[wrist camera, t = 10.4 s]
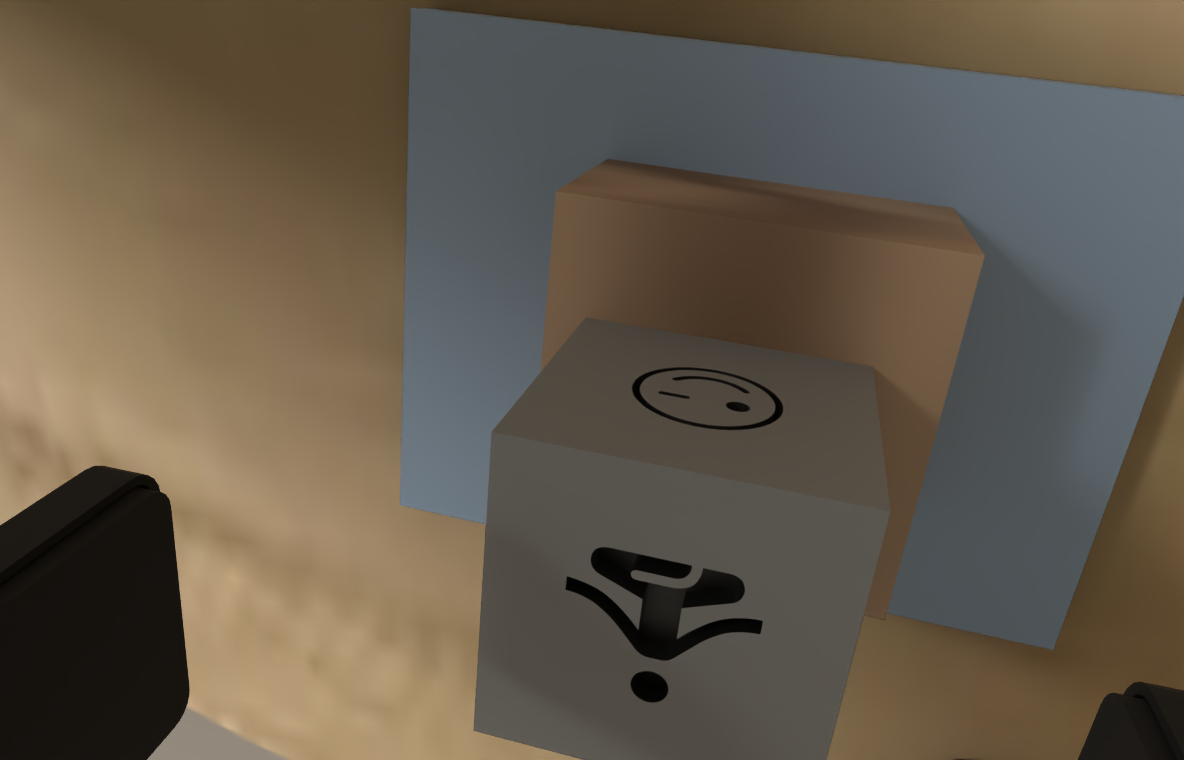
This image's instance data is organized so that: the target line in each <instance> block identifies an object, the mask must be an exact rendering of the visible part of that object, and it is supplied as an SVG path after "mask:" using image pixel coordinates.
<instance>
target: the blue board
mask: <svg viewBox="0 0 1184 760" xmlns="http://www.w3.org/2000/svg"><path fill="white" fill-rule="evenodd" d="M606 159H613V160H620V161H627V162H634V163H641V164H648V165H655V166H662V167H669V168H676V169H683V170H690V171H697V172H704V173H711V174H718V175H725V176H732V177H739V178H747V179H754V180H761V181H768V182H775V183H782V184H789V185H796V186H803V187H810V188H817V189H824V190H831V191H838V192H845V193H852V194H859V195H866V196H873V197H880V198H887V199H894V200H901V201H908V202H915V203H922V204H930V205H937V206H944V207H951V208H954V209H955V211H956V212H957V214H958V215H959V217H960V218H961V220H962V221H963V223H964V224H965V226H966V228H967V229H968V231H969V232H970V234H971V235H972V237H973V238H974V240H975V241H976V243H977V244H978V246H979V247H980V249H981V250H982V252H983V254H984V255H985V257H984V261H983V264H982V268H981V272H980V275H979V279H978V283H977V286H976V290H975V294H974V297H973V301H972V304H971V308H970V312H969V315H968V319H967V323H966V326H965V330H964V334H963V337H962V341H961V344H960V348H959V352H958V355H957V359H956V363H955V366H954V370H953V374H952V377H951V381H950V385H949V388H948V392H947V395H946V399H945V403H944V406H943V410H942V414H941V417H940V421H939V425H938V428H937V432H936V435H935V439H934V443H933V446H932V450H931V454H930V457H929V461H928V465H927V468H926V472H925V475H924V479H923V483H922V486H921V490H920V494H919V497H918V501H917V505H916V508H915V512H914V516H913V519H912V523H911V526H910V530H909V534H908V537H907V541H906V545H905V548H904V552H903V556H902V559H901V563H900V566H899V570H898V574H897V577H896V581H895V585H894V588H893V592H892V596H891V599H890V603H889V606H888V610H887V613H888V614H893V615H897V616H902V617H906V618H911V619H915V620H920V621H924V622H929V623H933V624H938V625H942V626H947V627H951V628H956V629H960V630H965V631H969V632H974V633H978V634H983V635H987V636H992V637H996V638H1001V639H1005V640H1010V641H1014V642H1019V643H1023V644H1028V645H1032V646H1037V647H1041V648H1046V649H1050V650H1054V647H1055V644H1056V641H1057V639H1058V636H1059V633H1060V631H1061V628H1062V625H1063V622H1064V620H1065V617H1066V614H1067V612H1068V609H1069V606H1070V603H1071V601H1072V598H1073V595H1074V593H1075V590H1076V587H1077V584H1078V582H1079V579H1080V576H1081V574H1082V571H1083V568H1084V565H1085V563H1086V560H1087V557H1088V555H1089V552H1090V549H1091V546H1092V544H1093V541H1094V538H1095V536H1096V533H1097V530H1098V527H1099V525H1100V522H1101V519H1102V517H1103V514H1104V511H1105V508H1106V506H1107V503H1108V500H1109V498H1110V495H1111V492H1112V489H1113V487H1114V484H1115V481H1116V479H1117V476H1118V473H1119V470H1120V468H1121V465H1122V462H1123V460H1124V457H1125V454H1126V451H1127V449H1128V446H1129V443H1130V441H1131V438H1132V435H1133V432H1134V430H1135V427H1136V424H1137V422H1138V419H1139V416H1140V413H1141V411H1142V408H1143V405H1144V403H1145V400H1146V397H1147V394H1148V392H1149V389H1150V386H1151V384H1152V381H1153V378H1154V375H1155V373H1156V370H1157V367H1158V365H1159V362H1160V359H1161V356H1162V354H1163V351H1164V348H1165V346H1166V343H1167V340H1168V337H1169V335H1170V332H1171V329H1172V327H1173V324H1174V321H1175V318H1176V316H1177V313H1178V310H1179V308H1180V305H1181V302H1182V299H1183V297H1184V95H1176V94H1167V93H1159V92H1150V91H1142V90H1133V89H1124V88H1116V87H1107V86H1098V85H1090V84H1081V83H1072V82H1064V81H1055V80H1046V79H1038V78H1029V77H1021V76H1012V75H1003V74H995V73H986V72H977V71H969V70H960V69H951V68H943V67H934V66H925V65H917V64H908V63H899V62H891V61H882V60H874V59H865V58H856V57H848V56H839V55H830V54H822V53H813V52H804V51H796V50H787V49H778V48H770V47H761V46H753V45H744V44H735V43H727V42H718V41H709V40H701V39H692V38H683V37H675V36H666V35H657V34H649V33H640V32H631V31H623V30H614V29H606V28H597V27H588V26H580V25H571V24H562V23H554V22H545V21H536V20H528V19H519V18H510V17H502V16H493V15H485V14H476V13H467V12H459V11H450V10H441V9H433V8H411V12H410V59H409V106H408V154H407V201H406V248H405V295H404V342H403V390H402V437H401V484H400V505H401V506H406V507H410V508H415V509H419V510H424V511H428V512H433V513H437V514H442V515H446V516H451V517H455V518H460V519H464V520H469V521H473V522H478V523H482V524H486V515H487V499H488V482H489V465H490V449H491V432H492V431H493V429H494V428H495V427H496V426H497V425H498V423H499V422H500V421H501V420H502V419H503V417H504V416H505V415H506V414H507V412H508V411H509V410H510V409H511V408H512V406H513V405H514V404H515V403H516V401H517V400H518V399H519V398H520V397H521V395H522V394H523V393H524V392H525V390H526V389H527V388H528V387H529V386H530V384H531V383H532V382H533V381H534V380H535V378H536V377H537V376H538V375H539V373H540V372H541V361H542V349H543V337H544V325H545V313H546V302H547V290H548V278H549V266H550V254H551V242H552V231H553V219H554V207H555V195H556V191H557V190H559V189H560V188H562V187H563V186H565V185H567V184H568V183H570V182H571V181H573V180H574V179H576V178H578V177H579V176H581V175H582V174H584V173H586V172H587V171H589V170H590V169H592V168H594V167H595V166H597V165H598V164H600V163H602V162H603V161H605V160H606Z"/></svg>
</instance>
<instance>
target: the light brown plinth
mask: <svg viewBox="0 0 1184 760" xmlns="http://www.w3.org/2000/svg"><path fill="white" fill-rule="evenodd" d="M984 257H985V255H984V254H983V252H982V250H981V249H980V247H979V246H978V244H977V243H976V241H975V240H974V238H973V237H972V235H971V234H970V232H969V231H968V229H967V228H966V226H965V224H964V223H963V221H962V220H961V218H960V217H959V215H958V214H957V212H956V211H955V209H954V208H951V207H944V206H937V205H930V204H922V203H915V202H908V201H901V200H894V199H887V198H880V197H873V196H866V195H859V194H852V193H845V192H838V191H831V190H824V189H817V188H810V187H803V186H796V185H789V184H782V183H775V182H768V181H761V180H754V179H747V178H739V177H732V176H725V175H718V174H711V173H704V172H697V171H690V170H683V169H676V168H669V167H662V166H655V165H648V164H641V163H634V162H627V161H620V160H613V159H606V160H605V161H603V162H602V163H600V164H598V165H597V166H595V167H594V168H592V169H590V170H589V171H587V172H586V173H584V174H582V175H581V176H579V177H578V178H576V179H574V180H573V181H571V182H570V183H568V184H567V185H565V186H563V187H562V188H560V189H559V190H557V191H556V195H555V207H554V219H553V231H552V242H551V254H550V266H549V278H548V290H547V302H546V313H545V325H544V337H543V349H542V361H541V371H542V370H543V369H544V367H545V366H546V365H547V364H548V362H549V361H550V360H551V359H552V358H553V356H554V355H555V354H556V353H557V351H558V350H559V349H560V348H561V347H562V345H563V344H564V343H565V342H566V341H567V339H568V338H569V337H570V336H571V334H572V333H573V332H574V331H575V330H576V328H577V327H578V326H579V325H580V323H581V322H582V321H583V320H584V319H585V317H587V318H593V319H599V320H604V321H610V322H616V323H622V324H628V325H634V326H639V327H645V328H651V329H657V330H663V331H668V332H674V333H680V334H686V335H692V336H698V337H703V338H709V339H715V340H721V341H727V342H733V343H738V344H744V345H750V346H756V347H762V348H768V349H773V350H779V351H785V352H791V353H797V354H802V355H808V356H814V357H820V358H826V359H832V360H837V361H843V362H849V363H855V364H861V365H867V366H872V367H873V372H874V380H875V388H876V396H877V404H878V412H879V421H880V429H881V437H882V445H883V453H884V461H885V470H886V478H887V486H888V494H889V502H890V510H891V512H890V516H889V520H888V523H887V527H886V531H885V535H884V539H883V543H882V547H881V551H880V554H879V558H878V562H877V566H876V570H875V574H874V578H873V581H872V585H871V589H870V593H869V597H868V601H867V605H866V609H865V612H864V615H865V616H870V617H874V618H879V619H883V620H885V617H886V614H887V610H888V606H889V603H890V599H891V596H892V592H893V588H894V585H895V581H896V577H897V574H898V570H899V566H900V563H901V559H902V556H903V552H904V548H905V545H906V541H907V537H908V534H909V530H910V526H911V523H912V519H913V516H914V512H915V508H916V505H917V501H918V497H919V494H920V490H921V486H922V483H923V479H924V475H925V472H926V468H927V465H928V461H929V457H930V454H931V450H932V446H933V443H934V439H935V435H936V432H937V428H938V425H939V421H940V417H941V414H942V410H943V406H944V403H945V399H946V395H947V392H948V388H949V385H950V381H951V377H952V374H953V370H954V366H955V363H956V359H957V355H958V352H959V348H960V344H961V341H962V337H963V334H964V330H965V326H966V323H967V319H968V315H969V312H970V308H971V304H972V301H973V297H974V294H975V290H976V286H977V283H978V279H979V275H980V272H981V268H982V264H983V261H984Z"/></svg>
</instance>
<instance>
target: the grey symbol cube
mask: <svg viewBox="0 0 1184 760" xmlns="http://www.w3.org/2000/svg"><path fill="white" fill-rule="evenodd" d="M890 512H891V510H890V502H889V494H888V486H887V478H886V470H885V461H884V453H883V445H882V437H881V429H880V421H879V412H878V404H877V396H876V388H875V380H874V372H873V367H872V366H867V365H861V364H855V363H849V362H843V361H837V360H832V359H826V358H820V357H814V356H808V355H802V354H797V353H791V352H785V351H779V350H773V349H768V348H762V347H756V346H750V345H744V344H738V343H733V342H727V341H721V340H715V339H709V338H703V337H698V336H692V335H686V334H680V333H674V332H668V331H663V330H657V329H651V328H645V327H639V326H634V325H628V324H622V323H616V322H610V321H604V320H599V319H593V318H587V317H585V319H584V320H583V321H582V322H581V323H580V325H579V326H578V327H577V328H576V330H575V331H574V332H573V333H572V334H571V336H570V337H569V338H568V339H567V341H566V342H565V343H564V344H563V345H562V347H561V348H560V349H559V350H558V351H557V353H556V354H555V355H554V356H553V358H552V359H551V360H550V361H549V362H548V364H547V365H546V366H545V367H544V369H543V370H542V371H541V372H540V373H539V375H538V376H537V377H536V378H535V380H534V381H533V382H532V383H531V384H530V386H529V387H528V388H527V389H526V390H525V392H524V393H523V394H522V395H521V397H520V398H519V399H518V400H517V401H516V403H515V404H514V405H513V406H512V408H511V409H510V410H509V411H508V412H507V414H506V415H505V416H504V417H503V419H502V420H501V421H500V422H499V423H498V425H497V426H496V427H495V428H494V429H493V431H492V432H491V449H490V465H489V482H488V499H487V515H486V532H485V549H484V565H483V582H482V599H481V615H480V632H479V648H478V665H477V682H476V698H475V715H474V731H477V732H480V733H484V734H488V735H492V736H496V737H499V738H503V739H507V740H511V741H515V742H518V743H522V744H526V745H530V746H534V747H537V748H541V749H545V750H549V751H553V752H556V753H560V754H564V755H568V756H572V757H575V758H579V759H583V760H826V759H827V755H828V752H829V748H830V744H831V740H832V736H833V732H834V728H835V725H836V721H837V717H838V713H839V709H840V705H841V701H842V697H843V694H844V690H845V686H846V682H847V678H848V674H849V670H850V667H851V663H852V659H853V655H854V651H855V647H856V643H857V639H858V636H859V632H860V628H861V624H862V620H863V616H864V612H865V609H866V605H867V601H868V597H869V593H870V589H871V585H872V581H873V578H874V574H875V570H876V566H877V562H878V558H879V554H880V551H881V547H882V543H883V539H884V535H885V531H886V527H887V523H888V520H889V516H890Z"/></svg>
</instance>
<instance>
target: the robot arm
mask: <svg viewBox="0 0 1184 760" xmlns="http://www.w3.org/2000/svg"><path fill="white" fill-rule="evenodd" d="M188 698H189V678H188V668H187V659H186V649H185V639H184V629H183V619H182V609H181V600H180V590H179V580H178V570H177V560H176V551H175V541H174V531H173V521H172V511H171V505H170V500H169V498H168V497H167V496H166V494H164V493H162V492H160V489H159V485H158V484H157V482H156V481H155V479H154V478H152V477H150V476H148V475H144V474H140V473H135V472H130V471H125V470H120V469H116V468H111V467H106V466H93V467H91V468H89V469H86V470H84V471H83V472H81V473H80V474H78V475H77V476H75V477H74V478H72V479H71V480H69V481H68V482H66V483H65V484H63V485H61V486H60V487H58V488H57V489H55V490H54V491H52V492H51V493H49V494H48V495H46V496H45V497H43V498H42V499H40V500H38V501H37V502H35V503H34V504H32V505H31V506H29V507H28V508H26V509H25V510H23V511H22V512H20V513H19V514H17V515H16V516H14V517H12V518H11V519H9V520H8V521H6V522H5V523H3V524H2V525H0V760H147V759H148V758H149V756H150V755H151V754H152V753H153V752H154V751H155V749H156V748H157V747H158V746H159V745H160V744H161V743H162V741H163V740H164V739H165V738H166V737H167V736H168V735H169V733H170V732H171V731H172V730H173V729H174V728H175V726H176V725H177V723H178V722H179V721H180V719H181V717H182V715H183V713H184V711H185V709H186V706H187V703H188ZM1078 760H1184V691H1183V690H1178V689H1173V688H1168V687H1164V686H1159V685H1154V684H1149V683H1144V682H1135V683H1133V684H1132V685H1130V686H1129V687H1128V688H1127V689H1126V691H1125V693H1124V695H1122V694H1117V693H1110V694H1108V695H1107V696H1106V697H1105V698H1104V700H1103V702H1102V703H1101V705H1100V708H1099V710H1098V713H1097V715H1096V717H1095V720H1094V722H1093V725H1092V727H1091V729H1090V732H1089V734H1088V737H1087V739H1086V741H1085V744H1084V746H1083V749H1082V751H1081V754H1080V756H1079V758H1078Z"/></svg>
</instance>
